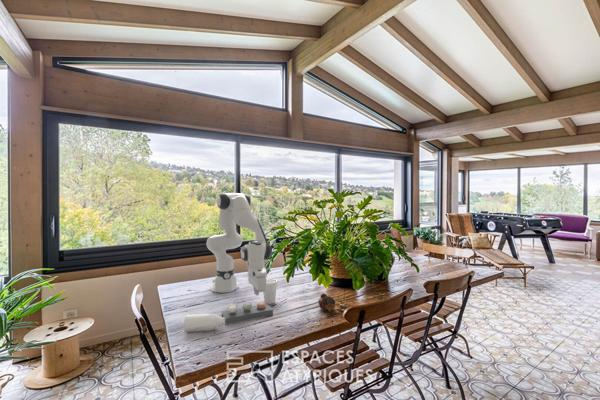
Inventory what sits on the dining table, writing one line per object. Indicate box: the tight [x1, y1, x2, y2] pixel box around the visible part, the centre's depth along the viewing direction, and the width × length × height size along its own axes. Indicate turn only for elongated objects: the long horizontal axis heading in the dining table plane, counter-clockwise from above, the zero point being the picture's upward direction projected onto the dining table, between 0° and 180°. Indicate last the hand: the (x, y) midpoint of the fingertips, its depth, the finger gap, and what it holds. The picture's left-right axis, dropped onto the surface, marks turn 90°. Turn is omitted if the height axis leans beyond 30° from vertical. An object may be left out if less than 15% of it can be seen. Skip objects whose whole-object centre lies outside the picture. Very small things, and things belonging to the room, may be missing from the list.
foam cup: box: [262, 278, 278, 305], centre depth 176 cm, size 10×9×13 cm
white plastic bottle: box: [183, 313, 225, 333], centre depth 140 cm, size 8×19×8 cm, turn 95°
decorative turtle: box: [318, 292, 336, 313], centre depth 163 cm, size 10×15×8 cm, turn 21°
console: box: [221, 303, 274, 326], centre depth 156 cm, size 10×26×3 cm, turn 116°
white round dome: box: [227, 305, 238, 315], centre depth 152 cm, size 5×5×5 cm
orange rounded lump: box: [256, 301, 266, 309], centre depth 159 cm, size 5×5×5 cm
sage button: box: [242, 302, 253, 312], centre depth 156 cm, size 5×5×5 cm
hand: (256, 294), depth 158 cm, fingers closed
